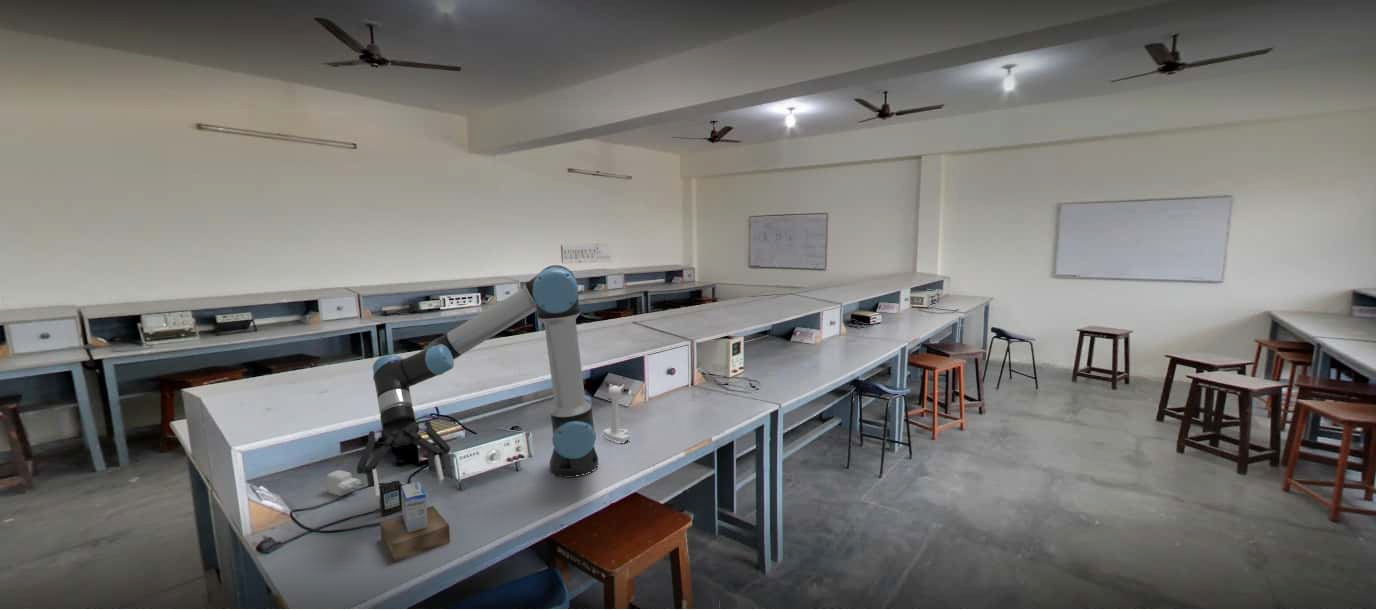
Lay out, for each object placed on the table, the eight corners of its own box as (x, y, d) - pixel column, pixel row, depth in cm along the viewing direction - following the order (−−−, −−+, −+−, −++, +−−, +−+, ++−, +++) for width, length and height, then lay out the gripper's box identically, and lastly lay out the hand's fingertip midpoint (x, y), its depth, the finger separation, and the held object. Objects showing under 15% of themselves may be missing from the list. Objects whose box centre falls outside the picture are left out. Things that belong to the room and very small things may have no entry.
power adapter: (369, 494, 150) (367, 474, 149) (352, 502, 146) (351, 482, 145) (341, 486, 154) (339, 467, 153) (324, 494, 150) (323, 474, 149)
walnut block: (434, 524, 136) (432, 505, 136) (450, 544, 128) (449, 525, 127) (381, 542, 128) (380, 522, 128) (394, 565, 120) (393, 544, 119)
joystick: (600, 436, 194) (600, 383, 191) (616, 431, 199) (616, 379, 196) (620, 445, 186) (620, 390, 183) (636, 439, 192) (636, 385, 189)
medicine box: (402, 518, 130) (400, 485, 128) (422, 513, 132) (420, 480, 131) (407, 533, 123) (405, 498, 122) (428, 527, 126) (426, 493, 125)
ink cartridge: (382, 517, 138) (379, 488, 137) (380, 513, 140) (377, 485, 139) (403, 510, 142) (400, 482, 140) (401, 507, 143) (398, 479, 142)
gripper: (447, 408, 146) (463, 481, 136) (339, 428, 131) (349, 511, 121) (450, 395, 141) (468, 469, 131) (338, 413, 126) (349, 498, 116)
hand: (410, 489), depth 126 cm, fingers open, 13 cm apart
